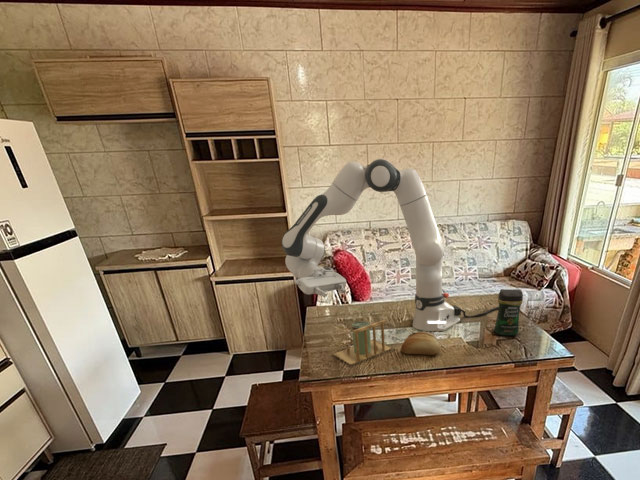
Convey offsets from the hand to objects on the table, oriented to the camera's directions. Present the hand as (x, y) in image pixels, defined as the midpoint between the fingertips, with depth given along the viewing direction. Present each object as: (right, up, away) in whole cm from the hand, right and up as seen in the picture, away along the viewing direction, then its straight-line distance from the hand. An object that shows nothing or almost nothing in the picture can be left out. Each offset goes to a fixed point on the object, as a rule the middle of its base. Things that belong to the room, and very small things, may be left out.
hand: (335, 293), depth 158 cm
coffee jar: (+70, -14, +13) cm, 73 cm away
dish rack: (+11, -23, +1) cm, 25 cm away
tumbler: (+11, -22, +1) cm, 25 cm away
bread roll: (+33, -23, -1) cm, 41 cm away
